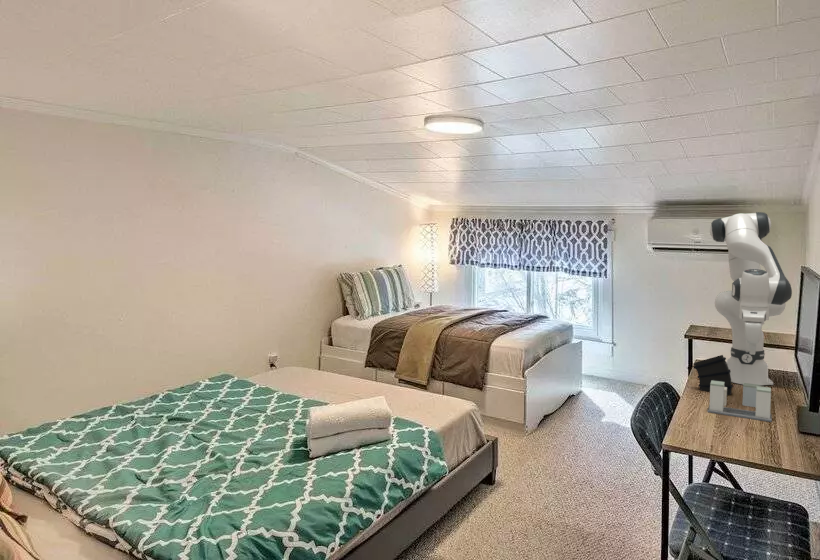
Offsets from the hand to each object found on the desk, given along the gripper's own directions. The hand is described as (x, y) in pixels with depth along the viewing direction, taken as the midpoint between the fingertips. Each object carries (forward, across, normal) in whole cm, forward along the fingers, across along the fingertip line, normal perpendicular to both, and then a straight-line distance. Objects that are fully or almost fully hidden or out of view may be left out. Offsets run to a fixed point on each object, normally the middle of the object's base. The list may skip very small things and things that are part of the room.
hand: (752, 352), depth 186 cm
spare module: (+20, +4, -10) cm, 22 cm away
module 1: (+20, +14, -10) cm, 26 cm away
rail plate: (+20, +14, -3) cm, 24 cm away
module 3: (+20, +14, +4) cm, 24 cm away
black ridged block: (+20, -12, -13) cm, 27 cm away
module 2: (+20, 0, 0) cm, 20 cm away
